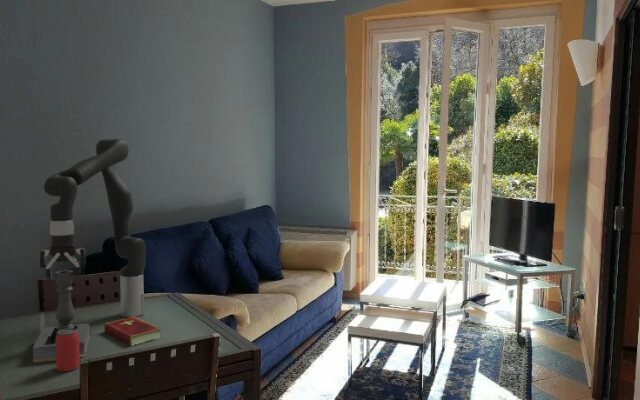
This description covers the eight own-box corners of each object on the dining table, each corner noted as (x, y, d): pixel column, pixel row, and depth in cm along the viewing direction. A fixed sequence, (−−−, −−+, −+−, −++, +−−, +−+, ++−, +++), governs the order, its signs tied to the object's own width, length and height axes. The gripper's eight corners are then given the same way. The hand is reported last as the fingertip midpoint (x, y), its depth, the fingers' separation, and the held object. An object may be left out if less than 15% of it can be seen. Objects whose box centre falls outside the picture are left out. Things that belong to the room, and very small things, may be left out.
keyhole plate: (89, 336, 185) (89, 323, 185) (84, 357, 166) (84, 342, 165) (44, 340, 180) (43, 327, 180) (33, 362, 161) (32, 347, 160)
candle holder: (67, 344, 174) (65, 274, 173) (52, 342, 176) (50, 273, 174) (79, 338, 180) (77, 270, 179) (64, 337, 182) (62, 269, 180)
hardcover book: (130, 347, 176) (130, 336, 176) (104, 333, 190) (104, 322, 190) (161, 339, 185) (161, 328, 185) (134, 326, 199) (133, 315, 199)
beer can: (61, 364, 160) (60, 327, 159) (82, 363, 160) (82, 327, 160) (52, 372, 153) (51, 334, 152) (74, 372, 154) (73, 334, 153)
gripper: (85, 230, 181) (86, 274, 182) (41, 232, 176) (42, 277, 177) (83, 233, 174) (84, 279, 175) (37, 235, 169) (39, 282, 170)
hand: (63, 278), depth 176 cm, fingers open, 8 cm apart
